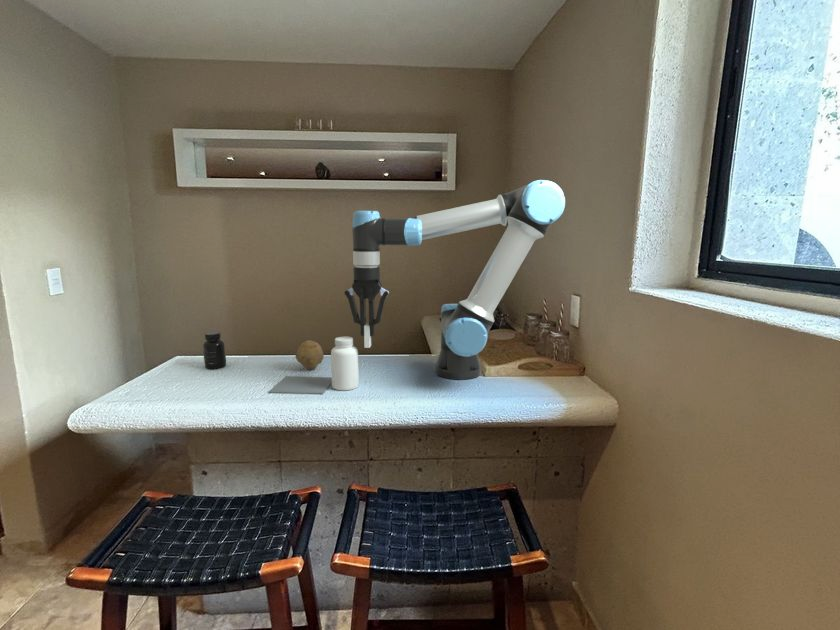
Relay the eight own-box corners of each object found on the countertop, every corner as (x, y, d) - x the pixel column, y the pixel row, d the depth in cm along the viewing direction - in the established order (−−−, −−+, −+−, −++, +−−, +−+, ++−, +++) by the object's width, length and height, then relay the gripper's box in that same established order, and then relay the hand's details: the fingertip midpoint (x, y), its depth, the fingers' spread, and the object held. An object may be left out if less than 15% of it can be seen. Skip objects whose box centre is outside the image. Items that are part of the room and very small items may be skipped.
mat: (335, 378, 143) (335, 377, 143) (322, 394, 129) (322, 393, 129) (285, 377, 144) (285, 376, 144) (268, 393, 130) (268, 391, 130)
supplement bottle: (210, 363, 158) (207, 330, 156) (230, 364, 158) (227, 330, 156) (200, 369, 151) (197, 335, 149) (220, 370, 151) (217, 335, 149)
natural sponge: (290, 371, 150) (289, 342, 148) (305, 364, 158) (304, 336, 156) (314, 374, 147) (313, 344, 145) (328, 366, 155) (327, 338, 153)
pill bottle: (338, 393, 130) (336, 342, 127) (328, 385, 137) (326, 337, 134) (363, 387, 134) (362, 339, 132) (351, 380, 141) (350, 333, 138)
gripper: (391, 265, 131) (391, 343, 136) (347, 265, 132) (348, 342, 137) (387, 267, 124) (387, 350, 128) (340, 267, 125) (342, 349, 129)
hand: (367, 346), depth 133 cm, fingers closed
